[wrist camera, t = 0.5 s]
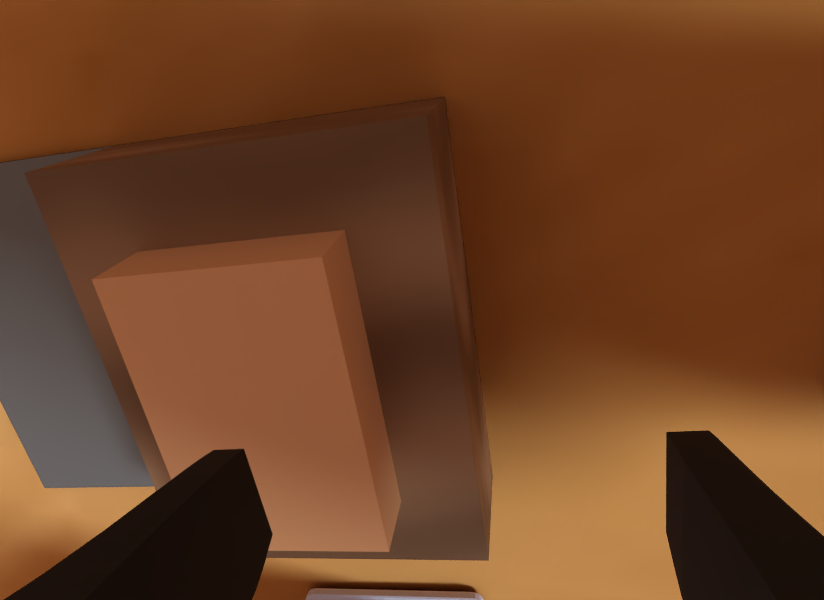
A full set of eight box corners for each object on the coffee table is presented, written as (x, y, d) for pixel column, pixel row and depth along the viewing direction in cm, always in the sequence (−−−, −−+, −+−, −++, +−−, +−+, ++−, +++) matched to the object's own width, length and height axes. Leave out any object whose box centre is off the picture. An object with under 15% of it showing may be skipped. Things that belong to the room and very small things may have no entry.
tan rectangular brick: (401, 501, 19) (389, 551, 17) (227, 502, 20) (199, 549, 18) (344, 229, 15) (322, 257, 13) (138, 251, 16) (91, 279, 15)
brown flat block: (492, 476, 23) (488, 560, 19) (230, 480, 25) (183, 556, 21) (444, 96, 17) (426, 115, 14) (114, 145, 19) (24, 172, 16)
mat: (230, 480, 25) (227, 485, 25) (49, 483, 27) (44, 487, 27) (114, 145, 19) (109, 147, 19) (-105, 178, 21) (-113, 180, 21)
